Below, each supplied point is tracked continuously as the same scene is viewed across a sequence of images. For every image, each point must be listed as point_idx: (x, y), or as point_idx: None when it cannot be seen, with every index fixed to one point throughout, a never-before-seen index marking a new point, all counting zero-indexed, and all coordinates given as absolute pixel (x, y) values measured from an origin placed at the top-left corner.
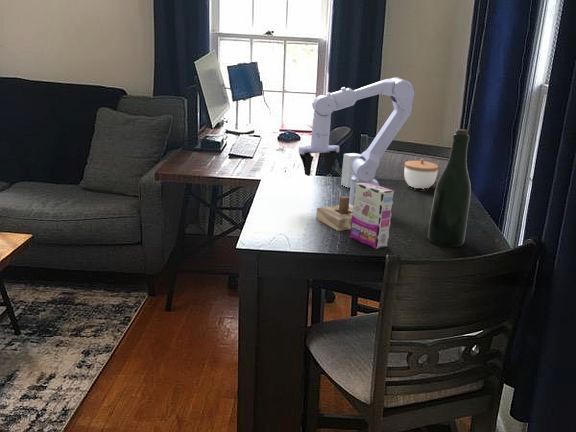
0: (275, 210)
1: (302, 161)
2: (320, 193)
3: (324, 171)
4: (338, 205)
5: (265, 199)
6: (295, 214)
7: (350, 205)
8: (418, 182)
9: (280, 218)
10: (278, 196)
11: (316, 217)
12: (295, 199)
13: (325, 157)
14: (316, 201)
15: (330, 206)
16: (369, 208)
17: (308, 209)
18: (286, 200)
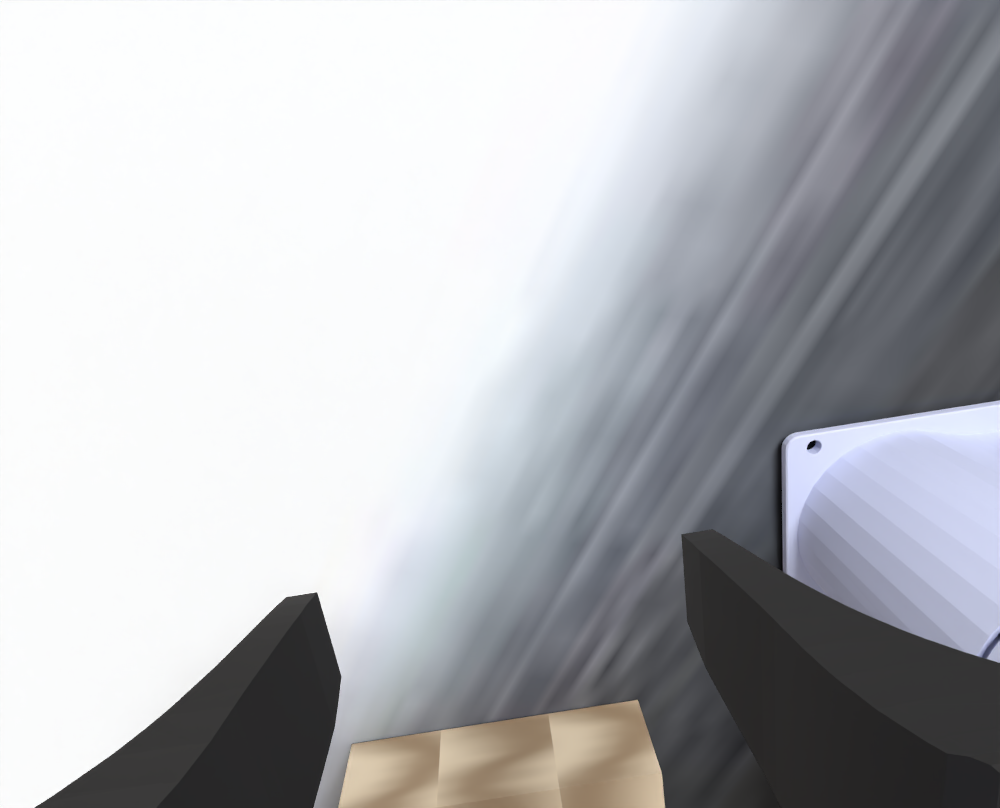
0: (60, 527)
1: (101, 777)
2: (749, 32)
3: (690, 547)
4: (556, 788)
5: (5, 166)
6: (217, 640)
7: (661, 799)
8: None
9: (68, 705)
10: (187, 68)
11: (350, 756)
12: (355, 224)
13: (843, 733)
14: (553, 330)
15: (472, 802)
16: None
17: (375, 542)
18: (243, 244)
